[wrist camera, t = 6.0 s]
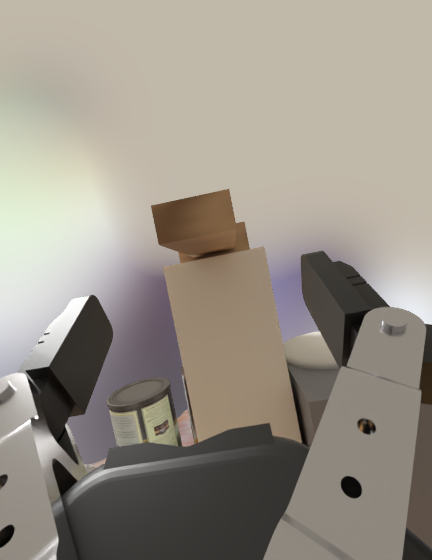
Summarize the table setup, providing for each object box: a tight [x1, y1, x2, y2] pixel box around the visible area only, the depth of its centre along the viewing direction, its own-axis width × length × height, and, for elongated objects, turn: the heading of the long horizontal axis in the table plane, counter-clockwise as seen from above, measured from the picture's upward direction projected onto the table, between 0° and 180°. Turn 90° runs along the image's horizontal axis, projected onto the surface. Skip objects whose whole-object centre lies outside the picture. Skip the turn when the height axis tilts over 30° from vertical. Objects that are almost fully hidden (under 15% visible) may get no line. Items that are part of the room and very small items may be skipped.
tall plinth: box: [163, 247, 302, 443], centre depth 32 cm, size 9×14×32 cm, turn 177°
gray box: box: [283, 331, 432, 549], centre depth 28 cm, size 10×15×21 cm, turn 177°
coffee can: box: [107, 378, 182, 447], centre depth 47 cm, size 10×10×14 cm
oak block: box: [151, 189, 250, 263], centre depth 26 cm, size 7×23×3 cm, turn 177°
